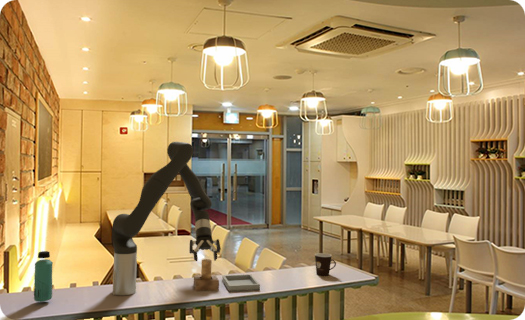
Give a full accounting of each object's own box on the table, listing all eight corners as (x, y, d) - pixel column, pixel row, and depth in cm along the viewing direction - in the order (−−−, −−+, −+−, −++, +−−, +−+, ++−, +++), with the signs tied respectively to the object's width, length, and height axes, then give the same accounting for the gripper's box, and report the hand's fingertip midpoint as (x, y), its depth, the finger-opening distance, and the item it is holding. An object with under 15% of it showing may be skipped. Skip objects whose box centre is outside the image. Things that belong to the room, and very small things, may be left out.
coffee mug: (311, 272, 224) (312, 253, 224) (326, 271, 226) (327, 252, 226) (321, 278, 213) (321, 258, 213) (336, 277, 215) (337, 257, 215)
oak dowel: (201, 288, 191) (202, 261, 191) (200, 285, 195) (201, 259, 195) (211, 288, 192) (212, 261, 192) (210, 285, 196) (210, 259, 196)
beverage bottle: (55, 300, 170) (56, 250, 170) (47, 306, 163) (48, 253, 163) (38, 299, 170) (39, 249, 170) (29, 305, 163) (31, 253, 163)
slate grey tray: (229, 291, 188) (229, 285, 188) (222, 280, 204) (222, 275, 204) (259, 290, 191) (260, 284, 191) (250, 279, 208) (250, 274, 208)
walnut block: (196, 290, 187) (196, 281, 187) (193, 284, 197) (193, 275, 197) (218, 289, 190) (218, 280, 190) (215, 283, 200) (215, 274, 200)
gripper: (189, 226, 202) (191, 256, 191) (219, 225, 206) (222, 255, 195) (187, 235, 207) (189, 265, 196) (216, 234, 211) (220, 263, 200)
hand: (206, 260), depth 196 cm, fingers open, 8 cm apart
